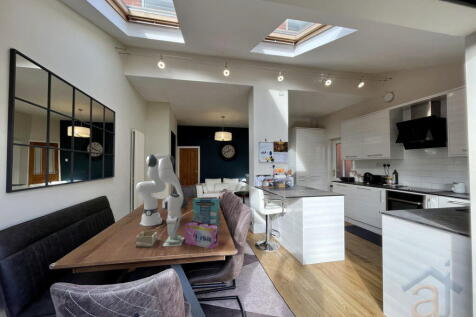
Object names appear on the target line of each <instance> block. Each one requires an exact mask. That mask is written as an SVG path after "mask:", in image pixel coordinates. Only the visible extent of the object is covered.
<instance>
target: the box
mask: <svg viewBox="0 0 476 317" xmlns="http://www.w3.org/2000/svg"><path fill="white" fill-rule="evenodd" d="M158 232H159V231H158V229H156V230H155V229H154V230H142V231H141V232H139V233H138V234H137V235H136V236H135V248H151V247H153V246H154V244H156V242H157V241H158Z"/></svg>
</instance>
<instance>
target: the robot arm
mask: <svg viewBox="0 0 476 317" xmlns="http://www.w3.org/2000/svg"><path fill="white" fill-rule="evenodd" d="M145 162H146V165H147V167H148V170H147V173H146V176H147V178H148V179H149V181H148V180H146V181H140V182H138V183H137V184H136V185H135V191H136V193H138V194H139V195H140V196H141V197H142V199H143V206H144V207H143V213H142V215H141V220H140V222H139V225H141V226H144V227H152V226H156V225H157V226H158V225H160V224H162V222H163V218H162V217H161V213H160V212H159V206H158V198H157V197H155V196H152V194H157V193H161V192H164V191H165V190H166V186H167V184H169V185H172V186H173V187H174V188H175V190H176V193H170V194H169V195H168V196H167V197H165V198H163V199H162V201H161V208H162V209H163V210H164V211H167V219H166V224H167V225H166V226H167V235H168V236H170V235H172V238H175V234H177V231H178V228H179V227H180V221H181V219H182V210H185V208H186V207H187V206H188V205H189V203H188V202H189V200H188V198H187V195H186V194H185V191H184V188H183V184H182V182H181V180H180V178H179V176H177V175H176V174H175V172H174V167H173V166H174V164H175V158H174V156H173V155H170V154H168V155H167V154H148V155H147V157H146V161H145ZM166 183H167V184H166Z"/></svg>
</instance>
